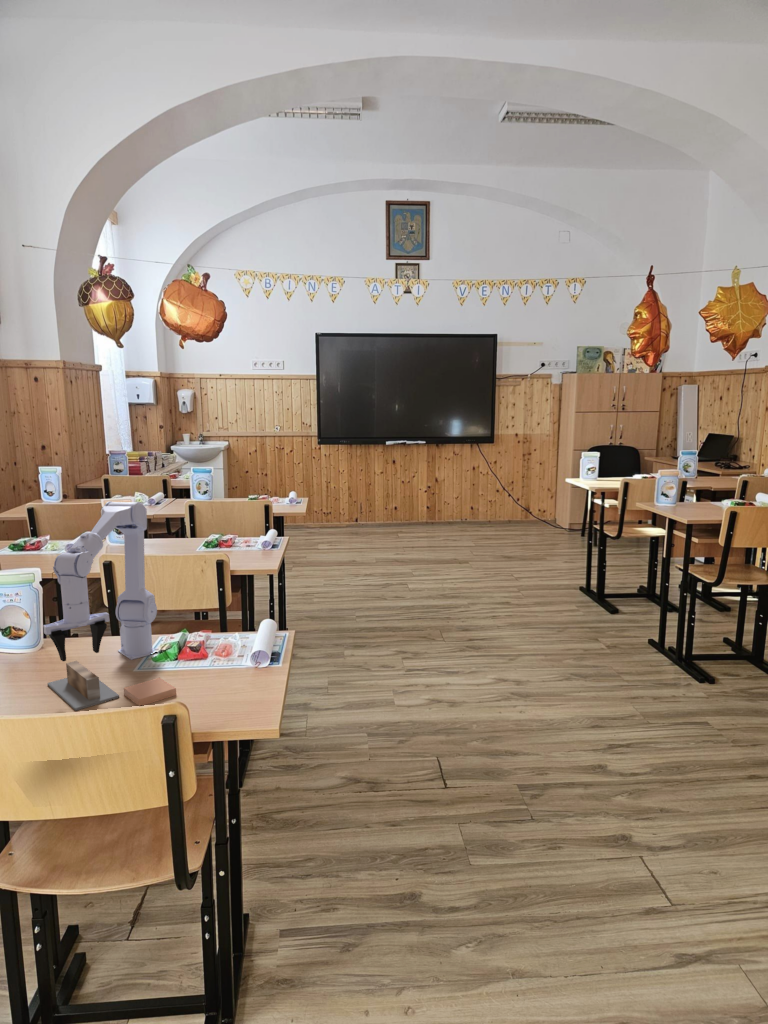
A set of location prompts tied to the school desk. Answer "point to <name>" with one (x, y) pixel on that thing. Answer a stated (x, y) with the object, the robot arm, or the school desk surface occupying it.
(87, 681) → the brown block
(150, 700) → the tile
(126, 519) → the robot arm
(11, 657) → the school desk surface
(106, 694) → the mat
